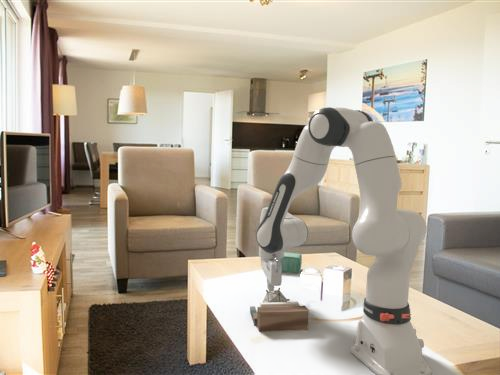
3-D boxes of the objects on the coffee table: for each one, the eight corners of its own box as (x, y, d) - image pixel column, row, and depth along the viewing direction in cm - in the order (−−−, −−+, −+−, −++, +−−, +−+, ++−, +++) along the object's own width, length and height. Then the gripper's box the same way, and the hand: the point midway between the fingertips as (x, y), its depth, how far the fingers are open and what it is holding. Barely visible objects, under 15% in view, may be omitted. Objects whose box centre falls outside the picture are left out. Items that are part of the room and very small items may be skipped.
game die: (279, 325, 152) (289, 308, 145) (255, 315, 152) (264, 298, 145) (284, 304, 159) (294, 287, 152) (261, 295, 159) (270, 277, 152)
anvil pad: (298, 318, 146) (298, 303, 146) (260, 319, 145) (261, 304, 144) (296, 315, 149) (297, 300, 148) (259, 317, 147) (260, 301, 146)
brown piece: (310, 329, 140) (311, 310, 139) (256, 331, 138) (256, 312, 137) (299, 310, 155) (299, 293, 154) (250, 312, 153) (250, 294, 152)
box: (299, 274, 196) (300, 257, 195) (268, 271, 198) (268, 254, 198) (301, 269, 203) (302, 252, 202) (271, 267, 206) (271, 250, 205)
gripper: (287, 259, 150) (285, 300, 151) (275, 243, 170) (274, 280, 171) (267, 259, 149) (266, 300, 150) (258, 244, 169) (257, 280, 170)
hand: (270, 289), depth 161 cm, fingers closed
